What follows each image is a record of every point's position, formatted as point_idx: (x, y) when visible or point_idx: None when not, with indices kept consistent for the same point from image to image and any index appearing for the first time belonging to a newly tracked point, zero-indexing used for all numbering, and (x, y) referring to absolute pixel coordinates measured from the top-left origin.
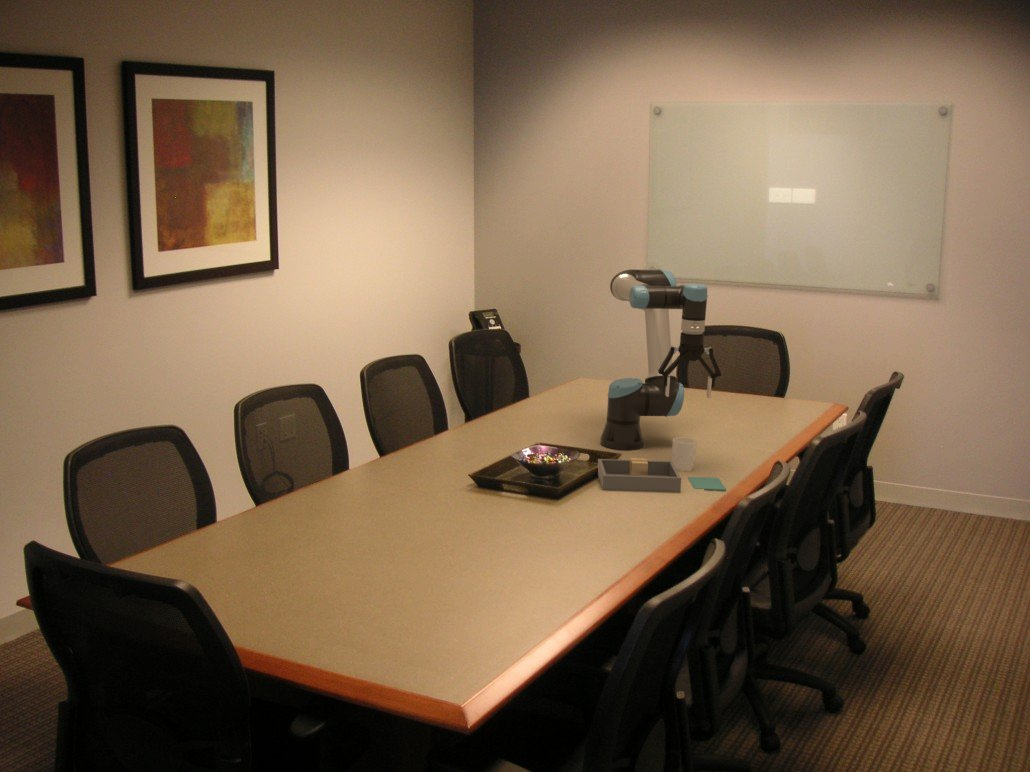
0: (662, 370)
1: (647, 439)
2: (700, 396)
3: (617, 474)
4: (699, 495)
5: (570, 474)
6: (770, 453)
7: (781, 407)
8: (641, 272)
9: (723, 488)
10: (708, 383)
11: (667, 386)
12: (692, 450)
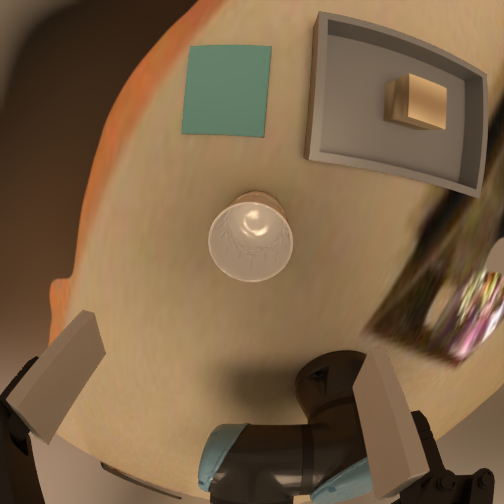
0: (479, 501)
1: (274, 403)
2: (168, 482)
3: (431, 170)
4: (267, 17)
5: (495, 193)
6: (70, 317)
7: (90, 445)
8: None
9: (194, 51)
10: (53, 394)
11: (405, 403)
12: (231, 203)
